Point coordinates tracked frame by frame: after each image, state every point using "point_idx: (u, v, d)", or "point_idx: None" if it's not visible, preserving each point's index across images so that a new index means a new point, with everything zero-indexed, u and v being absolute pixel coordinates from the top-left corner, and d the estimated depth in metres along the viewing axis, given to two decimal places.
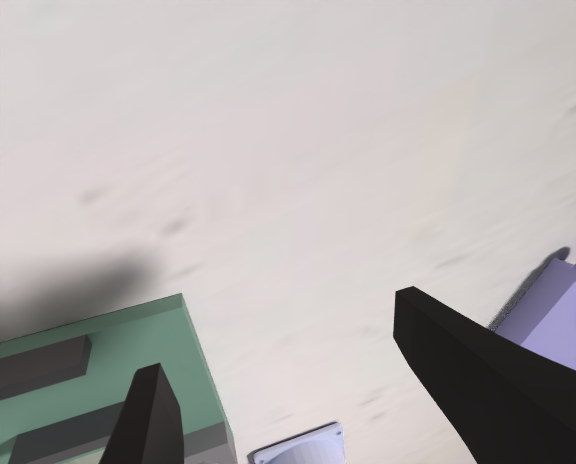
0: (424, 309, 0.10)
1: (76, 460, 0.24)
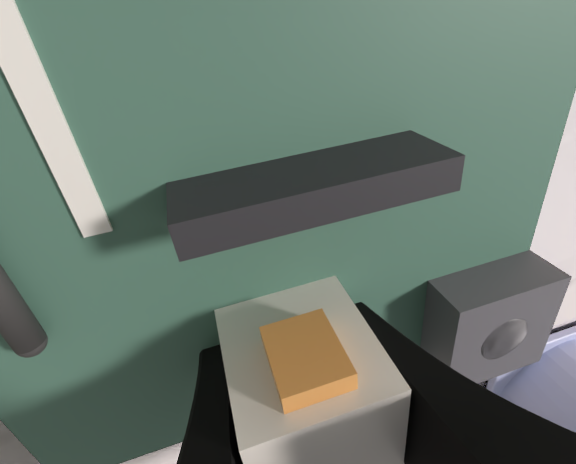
0: None
1: (263, 300, 0.11)
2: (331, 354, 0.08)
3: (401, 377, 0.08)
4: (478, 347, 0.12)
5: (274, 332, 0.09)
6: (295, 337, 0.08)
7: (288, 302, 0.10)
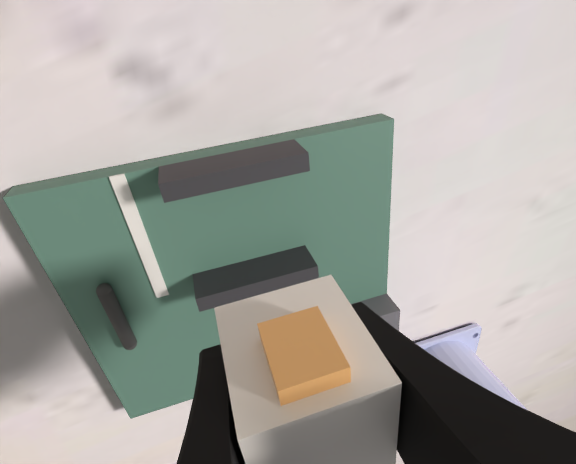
0: None
1: (262, 298, 0.11)
2: (326, 349, 0.08)
3: (392, 370, 0.08)
4: None
5: (271, 328, 0.09)
6: (292, 333, 0.09)
7: (285, 300, 0.10)
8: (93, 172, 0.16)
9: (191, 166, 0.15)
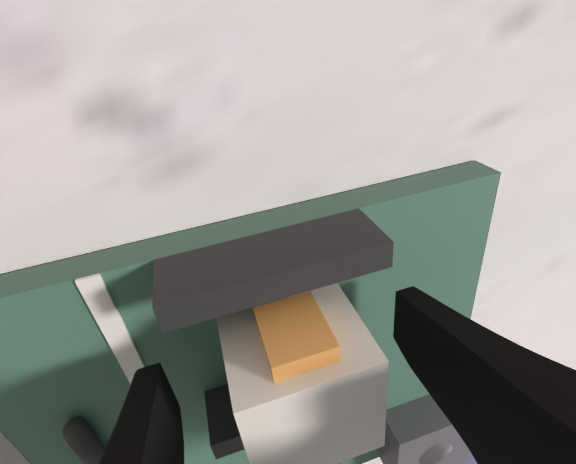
0: (424, 309, 0.10)
1: None
2: (317, 330, 0.09)
3: (380, 350, 0.09)
4: (416, 460, 0.17)
5: (266, 312, 0.09)
6: (285, 316, 0.09)
7: None
8: (52, 268, 0.10)
9: (206, 263, 0.09)
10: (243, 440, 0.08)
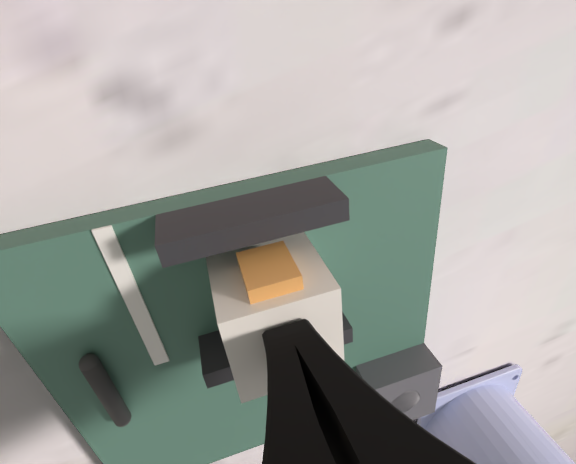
0: (302, 348, 0.09)
1: None
2: (285, 266, 0.11)
3: (335, 281, 0.11)
4: None
5: (246, 255, 0.12)
6: (261, 257, 0.11)
7: None
8: (72, 222, 0.12)
9: (198, 216, 0.12)
10: (226, 350, 0.11)
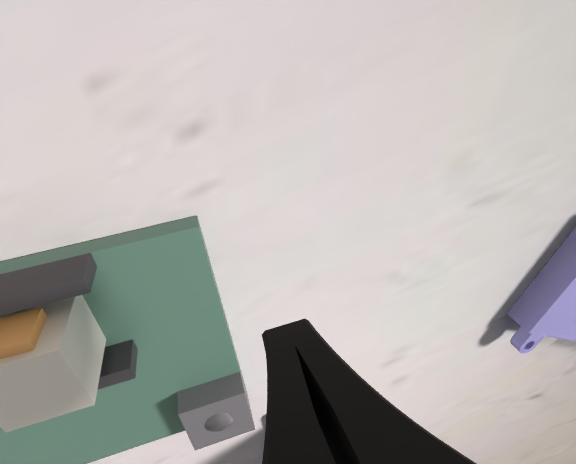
0: (302, 348, 0.09)
1: None
2: (24, 332, 0.15)
3: (59, 344, 0.15)
4: (202, 427, 0.23)
5: (6, 320, 0.15)
6: (14, 323, 0.15)
7: None
8: None
9: None
10: None
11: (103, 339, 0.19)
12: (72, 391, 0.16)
